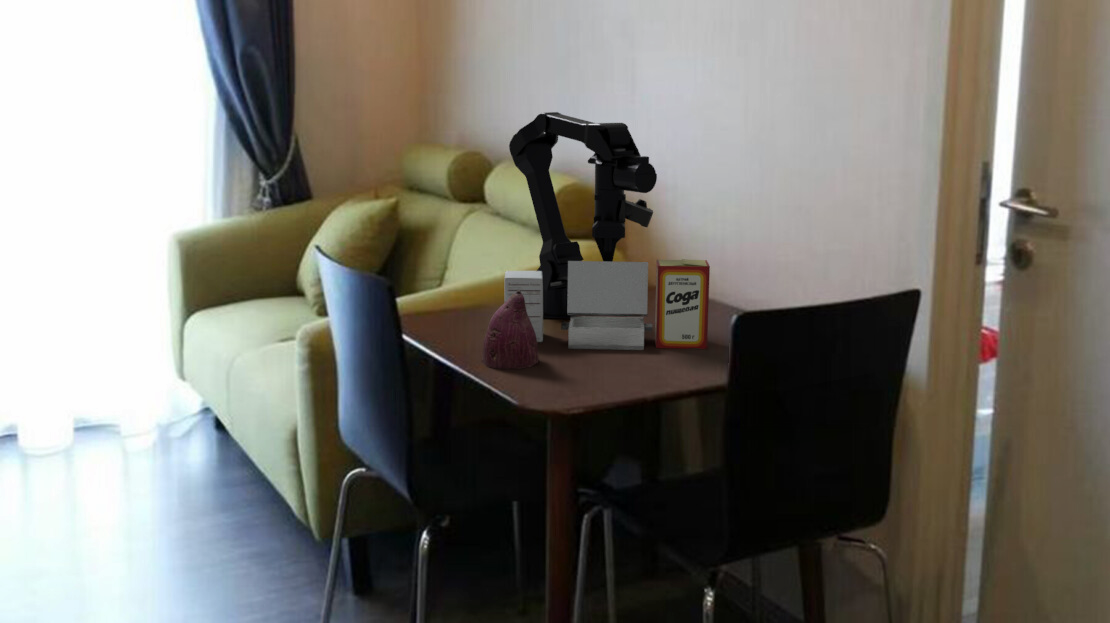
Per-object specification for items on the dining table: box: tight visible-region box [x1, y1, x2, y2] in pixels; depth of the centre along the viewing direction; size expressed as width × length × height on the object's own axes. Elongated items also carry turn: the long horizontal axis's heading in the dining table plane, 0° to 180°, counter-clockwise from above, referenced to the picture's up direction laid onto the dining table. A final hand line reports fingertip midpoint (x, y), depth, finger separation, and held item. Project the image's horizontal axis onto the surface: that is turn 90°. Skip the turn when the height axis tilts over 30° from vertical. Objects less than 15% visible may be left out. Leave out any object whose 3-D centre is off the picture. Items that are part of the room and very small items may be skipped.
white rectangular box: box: [560, 315, 653, 351], centre depth 228 cm, size 17×10×4 cm, turn 87°
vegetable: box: [481, 290, 539, 370], centre depth 213 cm, size 10×10×15 cm
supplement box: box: [503, 270, 544, 343], centre depth 231 cm, size 7×7×13 cm
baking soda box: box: [654, 259, 711, 350], centre depth 226 cm, size 10×6×16 cm
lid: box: [567, 260, 649, 318], centre depth 233 cm, size 15×10×2 cm
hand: (608, 267), depth 236 cm, fingers closed
